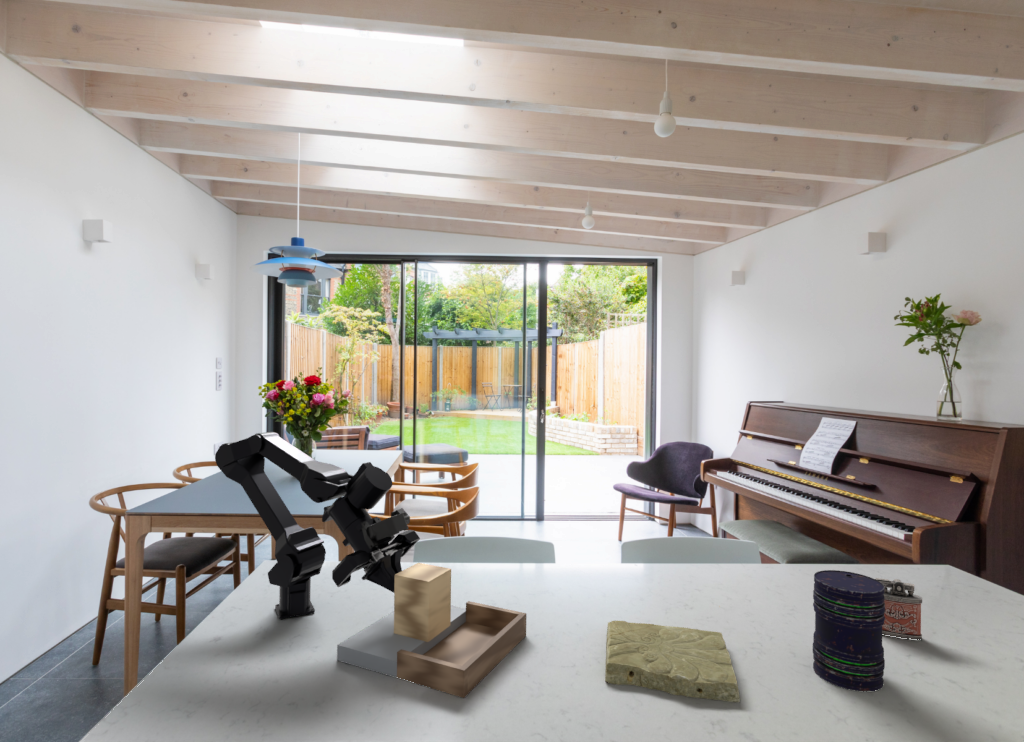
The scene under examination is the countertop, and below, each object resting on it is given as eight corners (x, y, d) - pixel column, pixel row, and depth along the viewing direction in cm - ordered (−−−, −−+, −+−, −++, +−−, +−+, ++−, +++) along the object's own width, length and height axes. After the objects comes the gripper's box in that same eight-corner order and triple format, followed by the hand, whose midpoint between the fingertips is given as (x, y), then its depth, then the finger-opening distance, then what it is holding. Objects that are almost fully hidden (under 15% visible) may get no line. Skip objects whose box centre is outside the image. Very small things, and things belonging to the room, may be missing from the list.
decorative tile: (606, 635, 104) (607, 615, 104) (722, 647, 100) (722, 627, 100) (601, 690, 86) (601, 666, 86) (742, 708, 82) (742, 683, 82)
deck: (337, 660, 93) (337, 644, 93) (415, 610, 113) (416, 597, 113) (396, 678, 88) (397, 661, 88) (468, 622, 107) (468, 609, 108)
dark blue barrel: (885, 699, 83) (886, 597, 83) (809, 680, 88) (810, 584, 89) (883, 670, 92) (884, 577, 92) (814, 653, 97) (815, 565, 97)
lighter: (919, 635, 104) (920, 580, 104) (924, 643, 101) (924, 587, 101) (868, 626, 108) (868, 573, 108) (870, 634, 105) (871, 579, 105)
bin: (396, 678, 88) (397, 652, 88) (468, 622, 107) (468, 601, 108) (464, 698, 82) (464, 670, 82) (526, 635, 102) (526, 613, 102)
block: (393, 633, 97) (394, 574, 97) (417, 617, 103) (418, 562, 104) (428, 642, 94) (428, 581, 94) (450, 625, 100) (451, 568, 100)
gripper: (345, 508, 94) (399, 585, 90) (412, 488, 111) (460, 552, 106) (309, 549, 98) (359, 625, 93) (379, 523, 115) (425, 587, 110)
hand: (405, 594), depth 100 cm, fingers closed, pressing on block
